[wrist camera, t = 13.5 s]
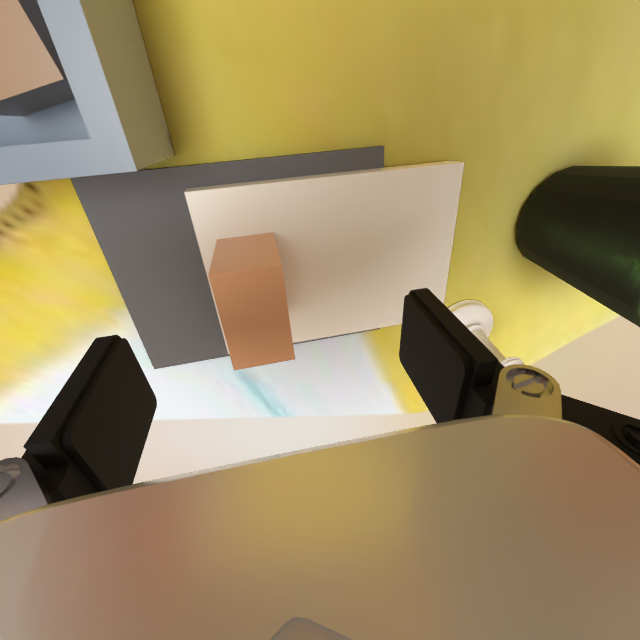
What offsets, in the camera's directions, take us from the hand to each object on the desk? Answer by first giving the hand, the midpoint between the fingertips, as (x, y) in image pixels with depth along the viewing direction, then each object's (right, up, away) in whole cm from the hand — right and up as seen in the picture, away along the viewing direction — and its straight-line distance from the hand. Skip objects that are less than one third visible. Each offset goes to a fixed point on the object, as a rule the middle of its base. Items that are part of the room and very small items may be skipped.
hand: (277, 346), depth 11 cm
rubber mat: (-2, +4, +9) cm, 10 cm away
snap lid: (+2, +5, +9) cm, 11 cm away
